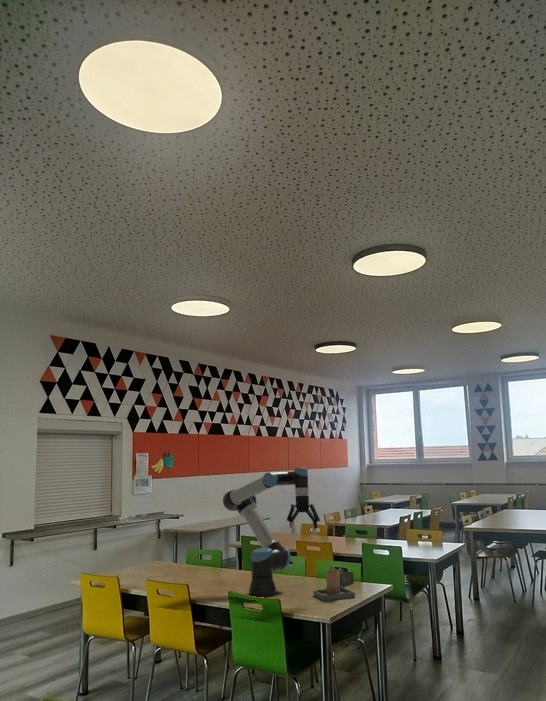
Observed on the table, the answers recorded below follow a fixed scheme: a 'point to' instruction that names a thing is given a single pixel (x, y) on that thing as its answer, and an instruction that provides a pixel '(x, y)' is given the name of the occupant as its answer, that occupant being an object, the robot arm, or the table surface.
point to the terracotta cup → (333, 582)
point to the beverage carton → (346, 578)
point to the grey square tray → (323, 594)
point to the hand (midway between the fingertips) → (303, 534)
